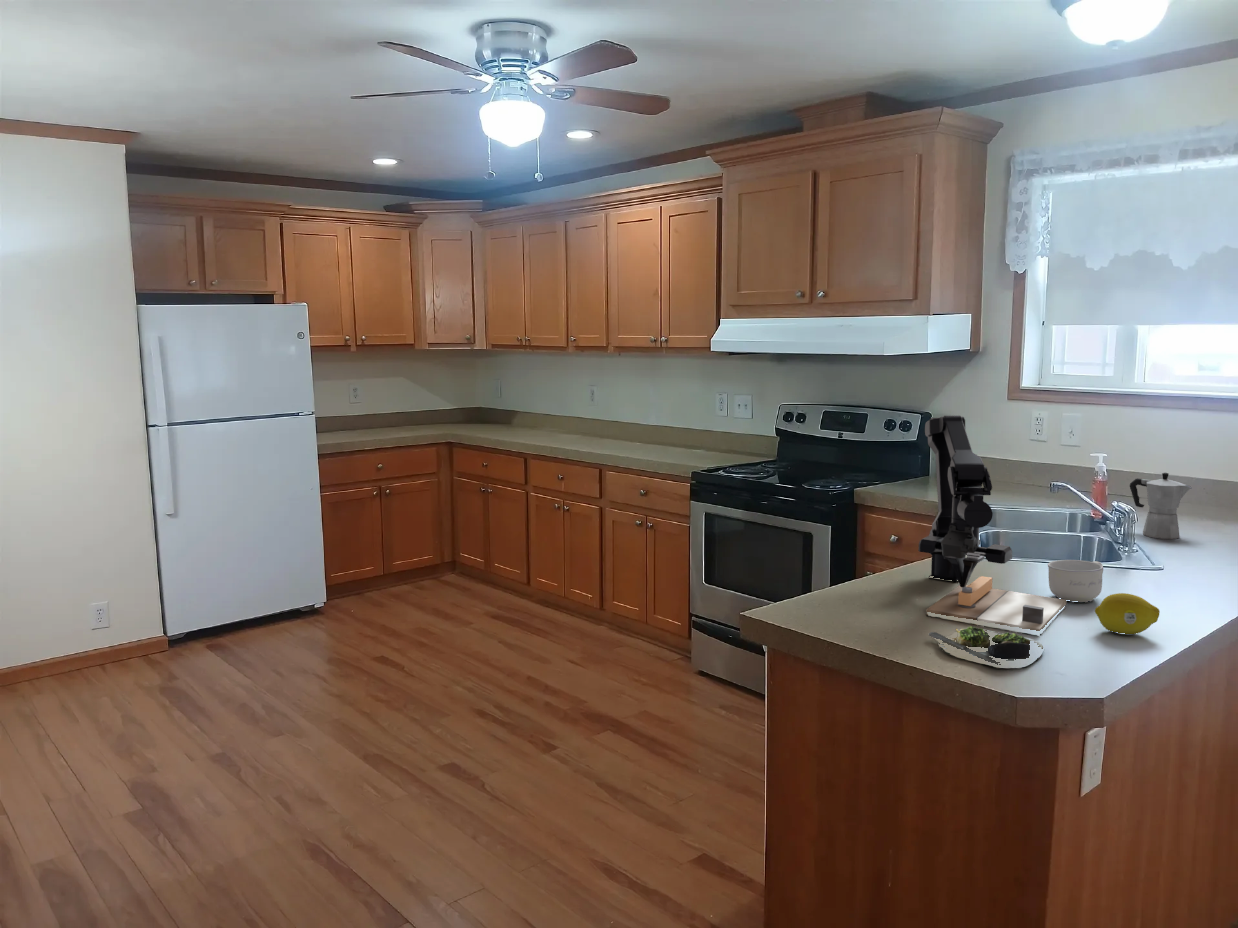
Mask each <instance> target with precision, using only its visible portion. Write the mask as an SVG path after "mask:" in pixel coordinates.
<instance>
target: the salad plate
mask: <svg viewBox="0 0 1238 928" xmlns="http://www.w3.org/2000/svg"><path fill="white" fill-rule="evenodd" d="M958 630H960V631H958ZM984 630H985V629H983V628H980V627H979V628H978V627H976V626H972V625H970V626H968V627H966V628H960V629H958V628H957V627H956V628H955V631H954V632H957V637H956V638H952V639H954V640H951V639H948V638H946V637H947V636H945V635H942V634H940V633H938V632H935V631H931V632H928V636H929V637H930V636H931V637H930V638H932V637H933V638H936V639H940V640H942V641H943V642H942V643H947V644H948V645H951V646H953V647H956V648H957V649H961V650H965V651H966V652H969V654H972V655H973V656H977V657H978V658H981V659H984V660H985V661H988V662H991V663H995V664H997V665H998V663H1000V662H996V661H995V660H992V659H993V658H991V657H989V656H993V657H995V658H1001V659H1008V660H1006V661H1014V659H1015V660H1016V659H1026V658H1029V656H1030V654H1029V650H1030V645H1029V644H1030V641H1034V643H1037V645H1039V646H1038V647H1041V649H1043V648H1044V646H1043V645H1042V643H1040V642H1039V641H1036V640H1035V639H1034V638H1033V639H1032V638H1030V637H1024V636H1023V635H1019V634H1017V633H1015V632H1012V633H1009V632H1010V631H1008V632H1004V633H1002V634H1000V635H999V634H997V635H995V636H994V637H993V638H992V641H993V642H995V643H998V644H995V645H991V646H990V640H989V637H990V636H989V635H988V633H987V632H985V631H984ZM986 630H987V631H990V632H995V631H994V630H993V631H992V630H989V629H986ZM933 638H932V639H933ZM1029 639H1030V640H1029ZM955 640H956V642H955ZM940 645H944V644H940ZM966 646H968V647H981V648H982V647H984V648H988V651H986V652H976V651H973V650H971V649H969V648H967V647H966ZM941 647H945V646H941ZM944 649H947V648H944ZM999 665H1001V664H999Z"/></svg>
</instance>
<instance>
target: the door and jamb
mask: <svg viewBox="0 0 1238 928" xmlns="http://www.w3.org/2000/svg"><path fill="white" fill-rule="evenodd" d="M968 585H969V584H967V585H966V587H967V586H968ZM960 591H962V587H960V584H959V585H958V586H956V587H955V588H953V589H952V590H951V591H950V592H949V591H948V593H946V594H945V595H944V596H942V597H941V598H939V599H938V600H937V601H935V602H934V603H933V604H931V606H929V607H928V608H926V612H931V613H935V614H941V615H946V616H954V617H958V618H966V619H973V620H977V621H984V622H987V623H995V624H1000V625H1007V626H1010V627H1019V628H1022V629H1030V630H1036V631H1040V630H1041V629H1043V628H1044V627H1045V625H1047V623H1048V622H1049V621H1050V620H1051V619H1052V618H1053V617H1054V616H1055V615H1056V614H1057V613H1058V612H1059V610H1061V609H1062V608H1063V607H1064V606H1065V605H1066V606H1067V601H1066V600H1064V599H1059V598H1057V597H1050V596H1043V595H1037V594H1031V593H1030V594H1029V593H1024V592H1017V591H1011V590H1007V589H1005V590H1004V589H997V588H993V587H992V589H991V590H990V591H989V592H987V593H986V594H985V595H984V596H982V597H981V598H980V599H979V600H978V601H976V602H975V603H974V604H973V605H971V606H966V605H960V604H958V597H959V592H960Z"/></svg>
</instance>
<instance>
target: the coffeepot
mask: <svg viewBox="0 0 1238 928" xmlns="http://www.w3.org/2000/svg"><path fill="white" fill-rule="evenodd" d="M1161 474H1162V475H1161V476H1162V478H1160V479H1153V480H1151V479H1146V478H1145V479H1144V478H1135V479H1134V480H1133V481H1131V482H1130V483H1129V489H1130V492H1131V495H1132V498H1133V503H1134V506H1135V507H1137V508H1142V509H1143V508H1144V506H1145V504H1144V503H1140V496H1139V492H1138V488H1137V486H1142V487H1146V494H1147V504H1148V507H1149V508H1148V509H1149V510H1148V511H1147V515H1146V518H1145V522H1144V526H1143V529H1142V533H1143V535H1144V537H1148V538H1152V539H1153V538H1154V539H1161V540H1175V539H1178V538H1180V537H1181V536H1180V529H1179V528H1180V527H1179V521H1178V520H1179V519H1178V508H1179V506H1180V504H1181V499H1182V498H1183V497H1184V496H1185V495H1186V494H1187V492H1188V491H1190V490H1192V486H1190V485H1188V484H1184V483H1182V482H1179V481H1175V480H1172V479H1168V477H1169V474H1170V473H1167V472H1162V473H1161Z"/></svg>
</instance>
